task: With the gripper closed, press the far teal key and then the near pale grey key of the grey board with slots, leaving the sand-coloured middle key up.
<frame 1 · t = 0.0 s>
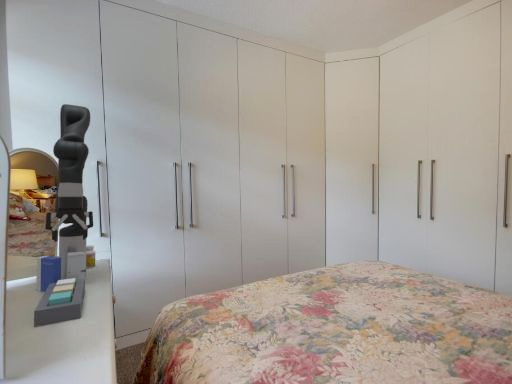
hand: (70, 240, 98), 17 cm above the table, tool pointing down, fingers open, 8 cm apart
supplement bottle: (88, 267, 125), on the table
walkman: (48, 291, 95), on the table
teal key: (60, 301, 76), point 4 cm above the table, slide at 0.0 cm
sand key: (63, 293, 82), point 4 cm above the table, slide at 0.0 cm
grey board with slots: (63, 305, 82), on the table
skincare box: (76, 285, 101), on the table
grey key: (66, 286, 88), point 4 cm above the table, slide at 0.0 cm
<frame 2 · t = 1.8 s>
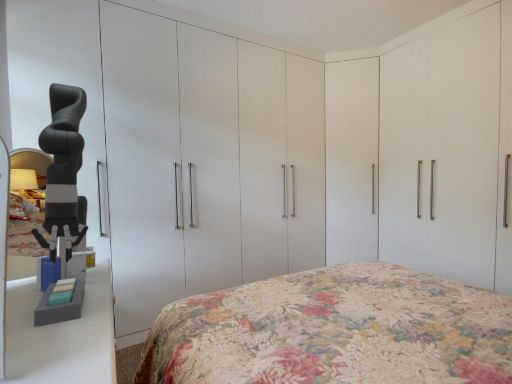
hand: (61, 261, 76), 15 cm above the table, tool pointing down, fingers closed
nothing on the table moved.
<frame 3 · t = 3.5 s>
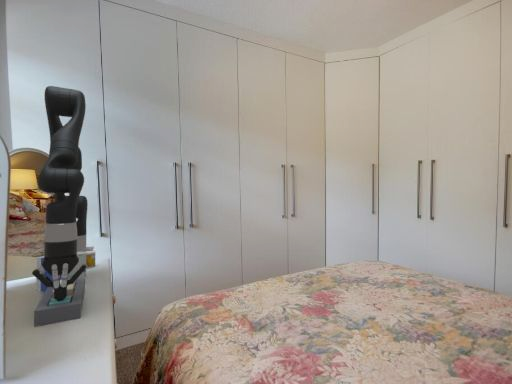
hand: (60, 299, 76), 4 cm above the table, tool pointing down, fingers closed
teal key: (60, 305, 76), point 3 cm above the table, slide at 1.2 cm, touching gripper
everything else where it was.
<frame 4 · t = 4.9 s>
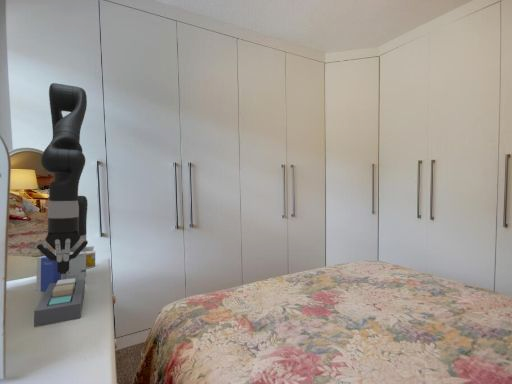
hand: (63, 273, 81), 10 cm above the table, tool pointing down, fingers closed
teal key: (60, 306, 76), point 2 cm above the table, slide at 1.3 cm
everything else where it was.
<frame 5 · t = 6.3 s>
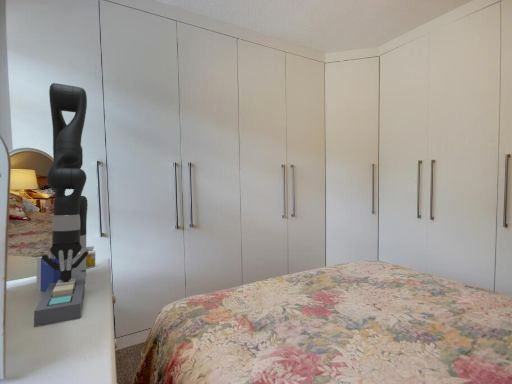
hand: (65, 281, 88), 5 cm above the table, tool pointing down, fingers closed
grey key: (66, 286, 88), point 4 cm above the table, slide at 0.0 cm, touching gripper
everything else where it was.
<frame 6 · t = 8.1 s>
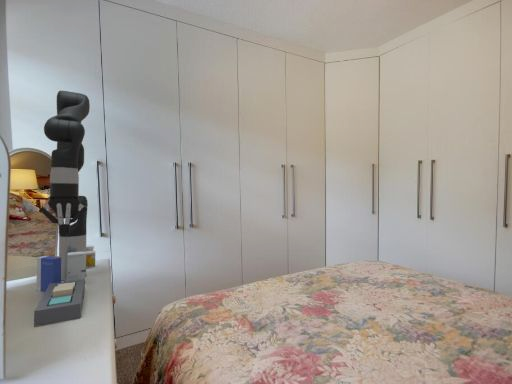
hand: (64, 235, 87), 21 cm above the table, tool pointing down, fingers closed
grey key: (65, 290, 88), point 2 cm above the table, slide at 1.4 cm
everything else where it was.
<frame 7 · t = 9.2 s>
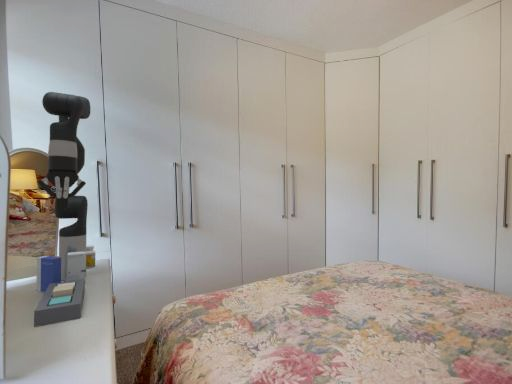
hand: (62, 210, 86), 29 cm above the table, tool pointing down, fingers closed
nothing on the table moved.
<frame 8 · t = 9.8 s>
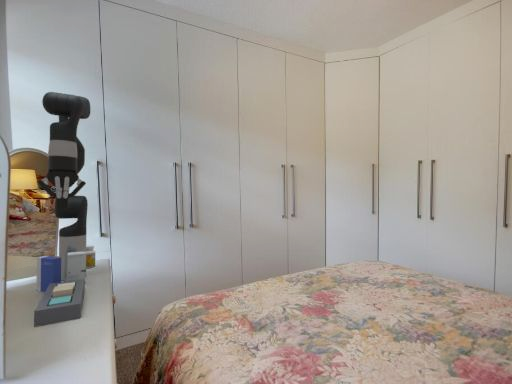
hand: (62, 210, 86), 29 cm above the table, tool pointing down, fingers closed
nothing on the table moved.
at the end: teal key slide at 1.3 cm; grey key slide at 1.4 cm; sand key slide at 0.0 cm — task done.
